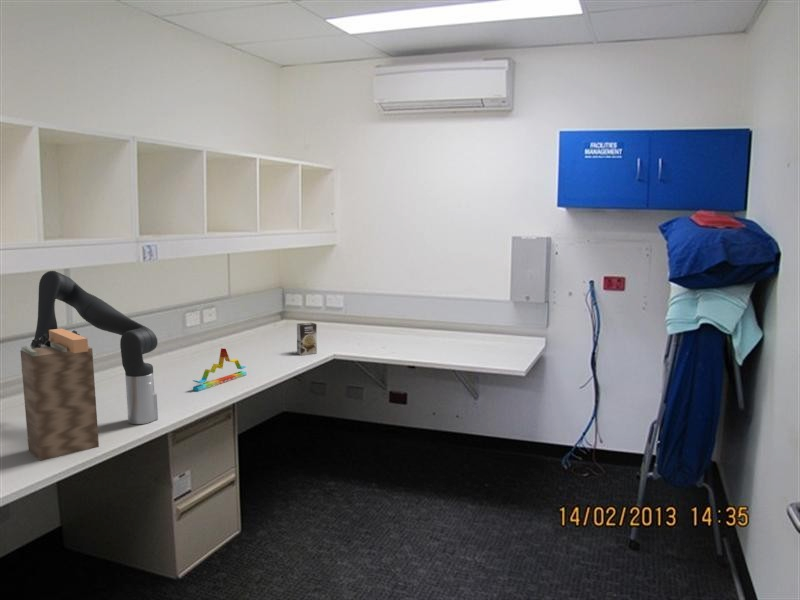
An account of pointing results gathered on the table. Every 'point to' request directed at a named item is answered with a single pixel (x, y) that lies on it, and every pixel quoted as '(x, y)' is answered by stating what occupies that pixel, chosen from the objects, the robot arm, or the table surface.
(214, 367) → the chart
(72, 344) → the tan wooden block
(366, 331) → the table surface
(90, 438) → the stand
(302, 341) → the coffee box
